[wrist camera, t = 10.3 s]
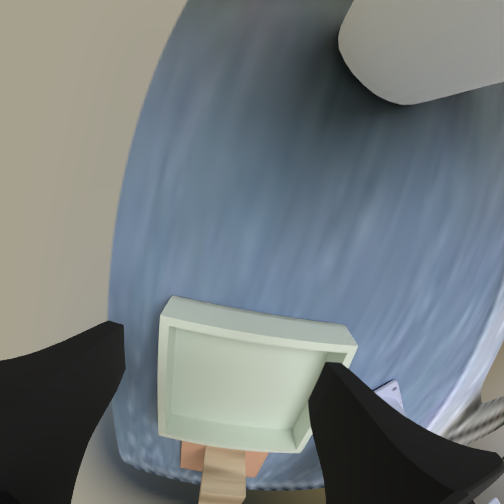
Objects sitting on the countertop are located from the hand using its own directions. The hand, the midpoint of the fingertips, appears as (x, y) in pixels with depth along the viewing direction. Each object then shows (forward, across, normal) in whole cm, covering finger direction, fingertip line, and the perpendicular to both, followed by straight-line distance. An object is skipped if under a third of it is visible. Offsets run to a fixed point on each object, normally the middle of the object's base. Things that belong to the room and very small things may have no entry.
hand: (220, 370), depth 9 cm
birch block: (+9, -2, +20) cm, 22 cm away
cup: (+10, -7, -18) cm, 21 cm away
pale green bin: (+9, -2, +8) cm, 13 cm away
